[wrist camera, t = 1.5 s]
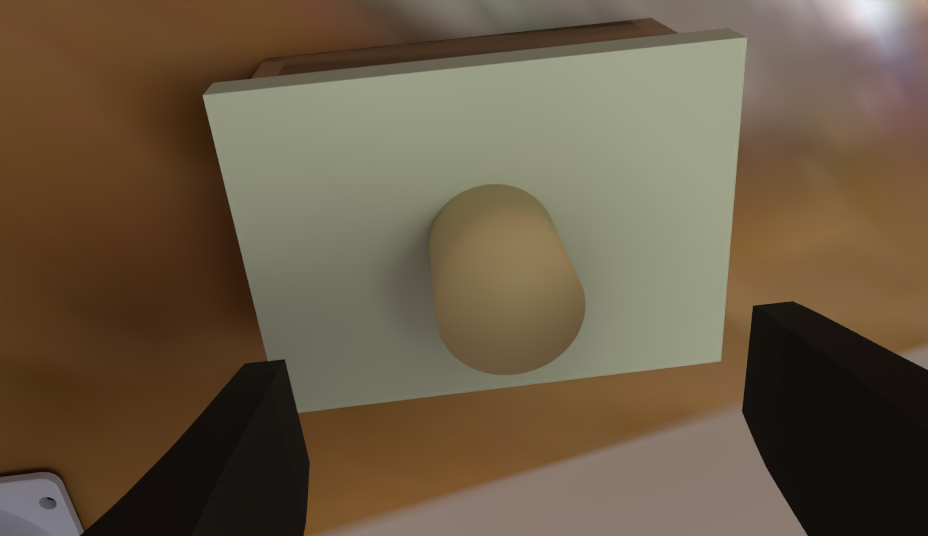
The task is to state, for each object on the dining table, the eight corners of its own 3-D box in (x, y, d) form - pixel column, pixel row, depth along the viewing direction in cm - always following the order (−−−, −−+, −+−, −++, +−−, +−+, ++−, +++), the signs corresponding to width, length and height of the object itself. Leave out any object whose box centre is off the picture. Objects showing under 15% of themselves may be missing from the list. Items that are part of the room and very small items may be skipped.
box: (645, 258, 23) (691, 328, 20) (312, 297, 23) (298, 375, 19) (651, 18, 20) (707, 49, 16) (264, 59, 20) (236, 99, 16)
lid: (706, 339, 20) (774, 441, 16) (285, 390, 19) (262, 505, 16) (727, 27, 16) (822, 71, 13) (213, 82, 16) (162, 143, 12)
